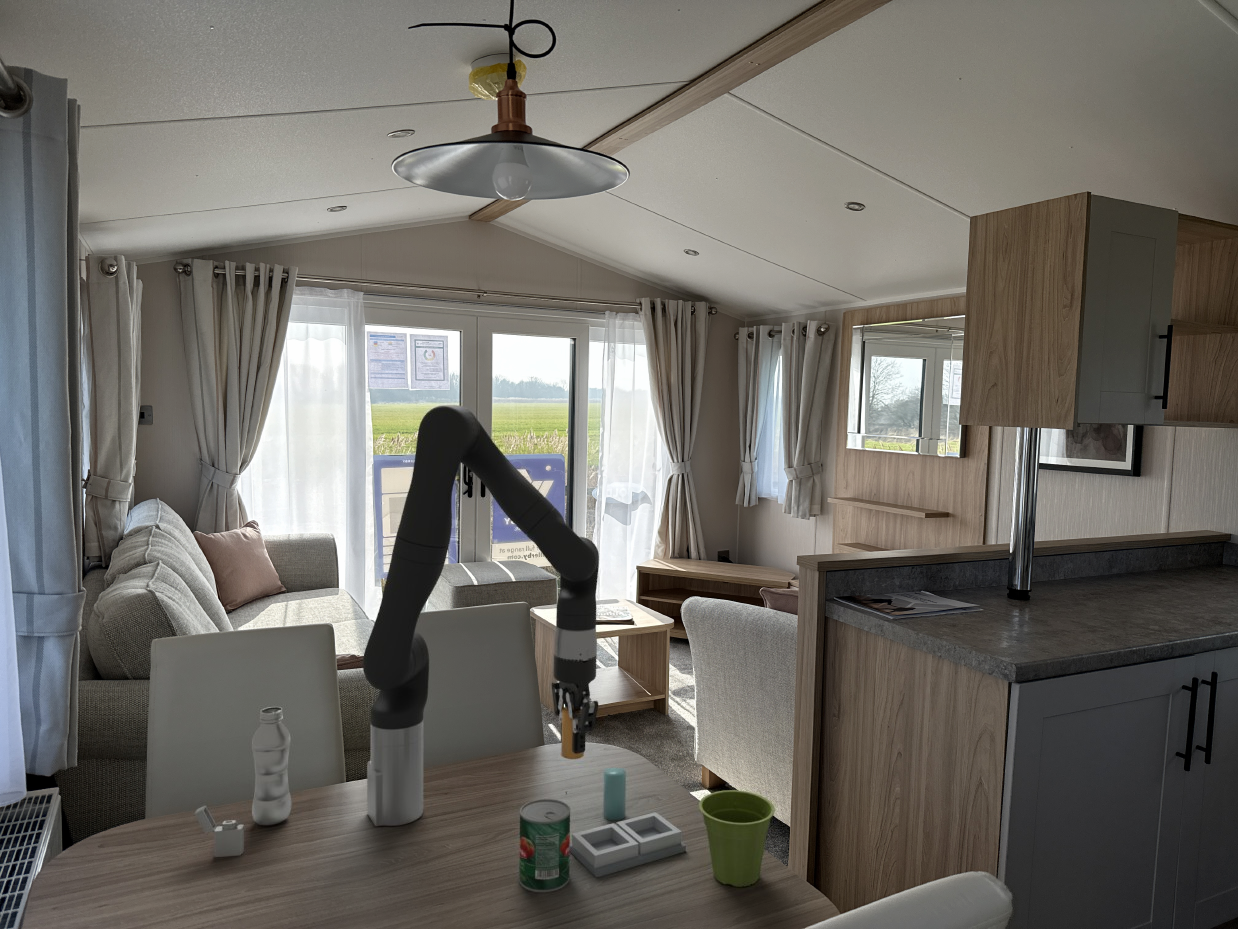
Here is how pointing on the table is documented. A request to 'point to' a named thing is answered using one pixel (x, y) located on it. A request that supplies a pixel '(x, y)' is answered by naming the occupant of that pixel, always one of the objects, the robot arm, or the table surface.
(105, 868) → the table surface
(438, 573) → the robot arm
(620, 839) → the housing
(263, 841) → the table surface
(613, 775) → the teal pin
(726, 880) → the plant pot
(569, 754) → the orange pin
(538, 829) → the canned tomato
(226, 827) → the lighter
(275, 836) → the table surface
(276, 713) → the plastic bottle
